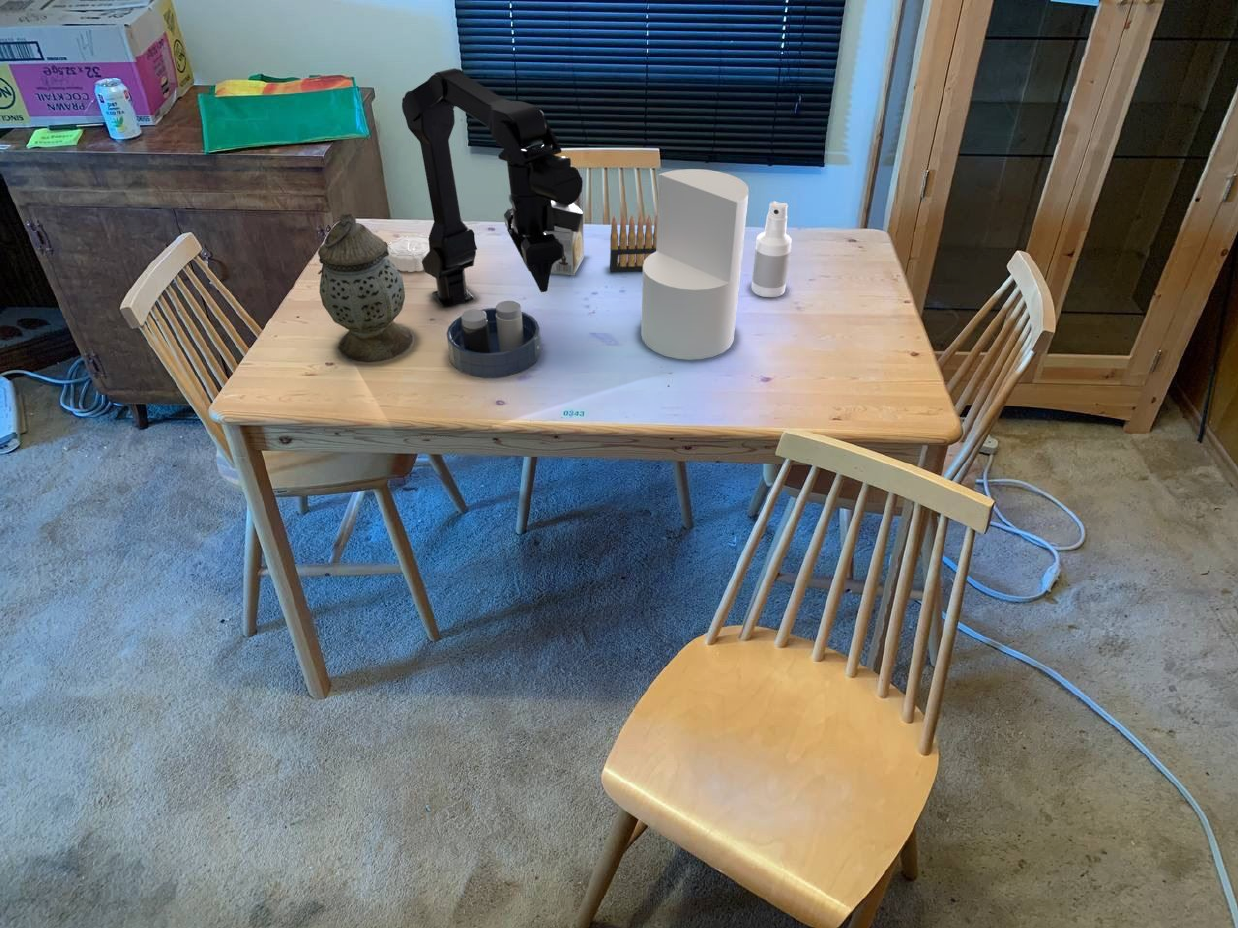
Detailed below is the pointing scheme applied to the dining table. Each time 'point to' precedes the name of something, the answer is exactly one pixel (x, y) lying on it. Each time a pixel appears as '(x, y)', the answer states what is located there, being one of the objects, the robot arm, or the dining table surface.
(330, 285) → the lantern
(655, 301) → the cylinder
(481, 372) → the bowl
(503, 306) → the salt shaker
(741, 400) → the dining table surface
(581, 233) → the coffee box
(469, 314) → the pepper shaker
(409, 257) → the mooncake
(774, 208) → the spray bottle
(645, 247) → the ammunition clip
